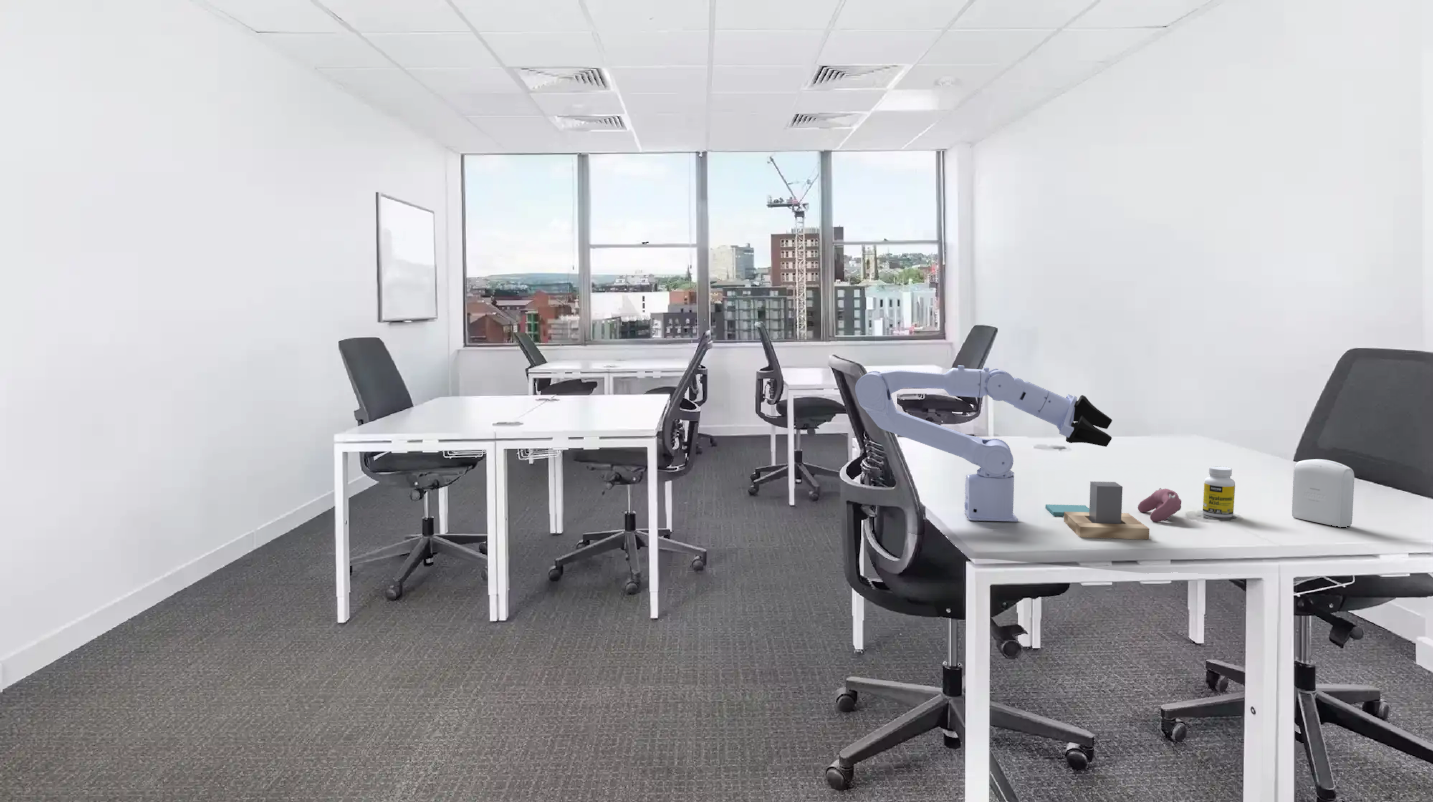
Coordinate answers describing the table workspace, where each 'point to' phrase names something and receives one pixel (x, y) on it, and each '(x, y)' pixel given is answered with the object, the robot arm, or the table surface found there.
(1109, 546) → the table surface
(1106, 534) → the square wooden frame
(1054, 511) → the rubber mat
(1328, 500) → the photo printer
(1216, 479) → the supplement bottle
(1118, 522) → the plug
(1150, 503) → the video game controller
